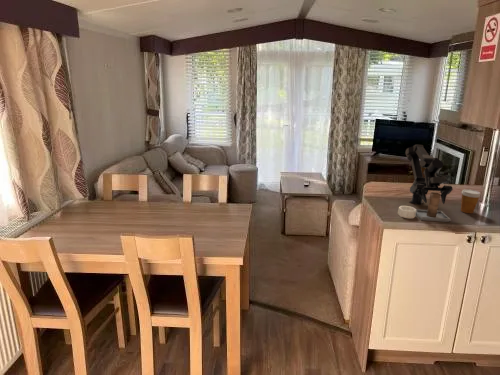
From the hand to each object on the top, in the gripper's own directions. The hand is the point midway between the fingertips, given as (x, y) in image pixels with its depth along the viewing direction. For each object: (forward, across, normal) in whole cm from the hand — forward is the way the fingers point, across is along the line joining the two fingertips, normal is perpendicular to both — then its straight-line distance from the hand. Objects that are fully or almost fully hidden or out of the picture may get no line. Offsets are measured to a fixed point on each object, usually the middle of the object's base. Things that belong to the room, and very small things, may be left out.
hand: (434, 203), depth 199 cm
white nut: (+5, -13, +7) cm, 16 cm away
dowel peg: (+4, 0, +6) cm, 8 cm away
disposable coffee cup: (-4, +24, +16) cm, 29 cm away
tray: (+5, 0, +7) cm, 8 cm away
